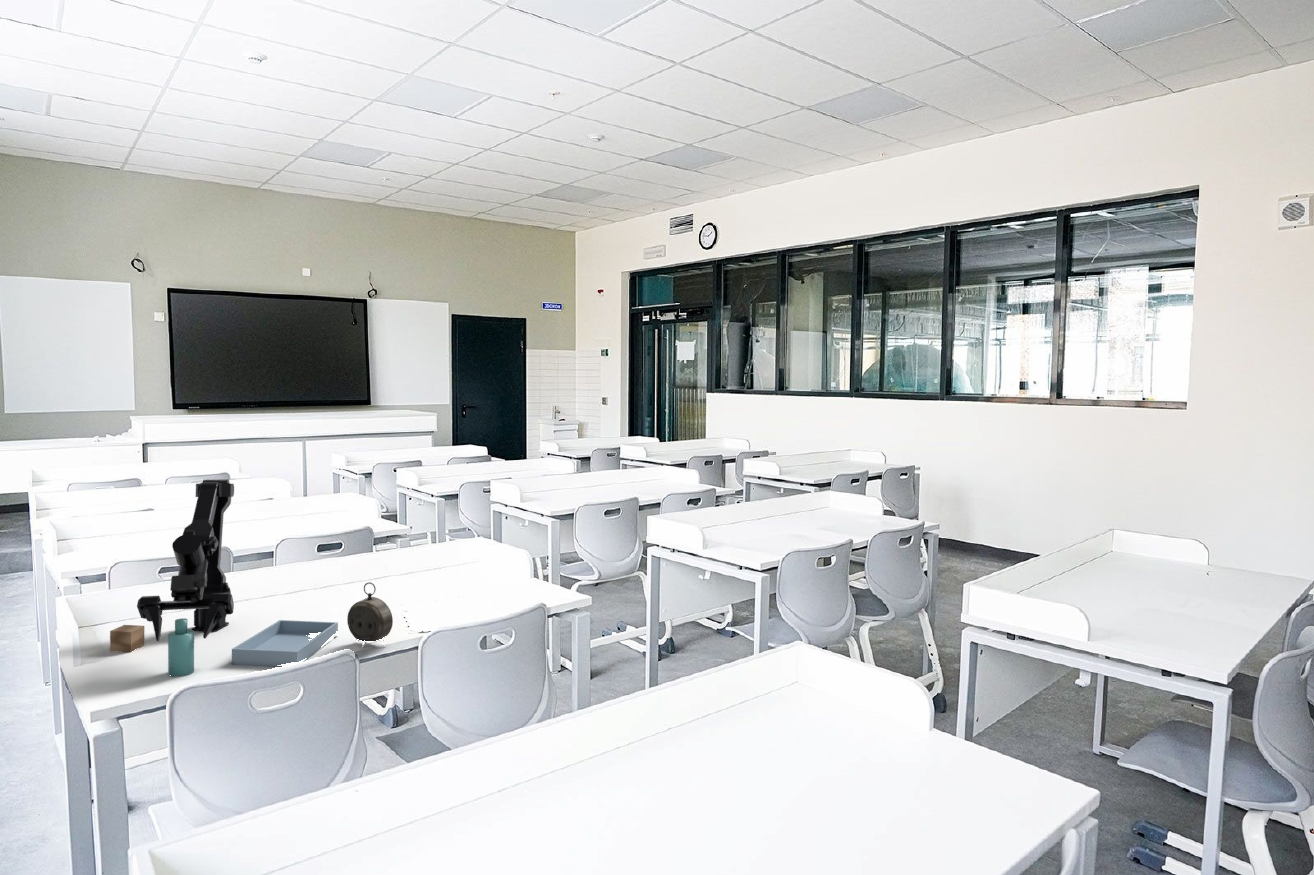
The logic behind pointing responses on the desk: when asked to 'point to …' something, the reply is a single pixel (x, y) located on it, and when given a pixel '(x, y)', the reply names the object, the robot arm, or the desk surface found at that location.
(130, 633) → the walnut cube
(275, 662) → the tray
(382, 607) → the alarm clock
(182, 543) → the robot arm
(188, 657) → the teal canister
